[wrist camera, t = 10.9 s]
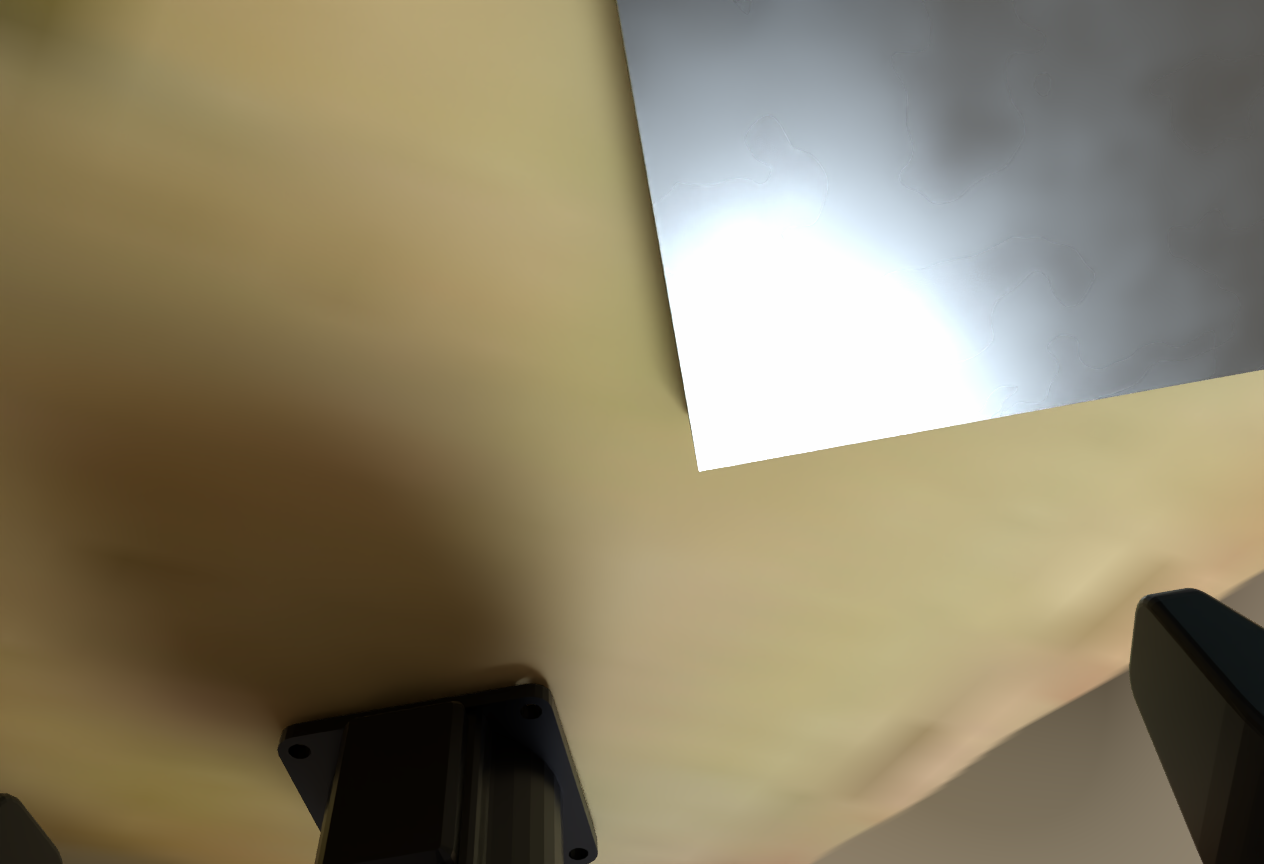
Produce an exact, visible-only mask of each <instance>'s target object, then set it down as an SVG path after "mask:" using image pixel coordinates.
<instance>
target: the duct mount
mask: <svg viewBox="0 0 1264 864" xmlns="http://www.w3.org/2000/svg"><path fill="white" fill-rule="evenodd" d="M616 6H617V12H618V18H619V23H620V29H621V35H622V40H623V46H624V52H625V57H626V63H627V69H628V75H629V80H630V86H631V92H632V97H633V103H634V109H635V114H636V120H637V126H638V132H639V137H640V143H641V149H642V154H643V160H644V166H645V171H646V177H647V183H648V189H649V194H650V200H651V206H652V211H653V217H654V223H655V229H656V234H657V240H658V246H659V251H660V257H661V263H662V268H663V274H664V280H665V286H666V291H667V297H668V303H669V308H670V314H671V320H672V325H673V331H674V337H675V343H676V348H677V354H678V360H679V365H680V371H681V377H682V382H683V388H684V394H685V400H686V405H687V411H688V417H689V422H690V428H691V433H692V438H693V443H694V448H695V453H696V458H697V463H698V468H699V471H704V470H709V469H715V468H721V467H726V466H732V465H737V464H743V463H748V462H754V461H759V460H765V459H770V458H776V457H781V456H787V455H792V454H798V453H804V452H809V451H815V450H820V449H826V448H831V447H837V446H842V445H848V444H853V443H859V442H864V441H870V440H876V439H881V438H887V437H892V436H898V435H903V434H909V433H914V432H920V431H925V430H931V429H936V428H942V427H947V426H953V425H959V424H964V423H970V422H975V421H981V420H986V419H992V418H997V417H1003V416H1008V415H1014V414H1019V413H1025V412H1031V411H1036V410H1042V409H1047V408H1053V407H1058V406H1064V405H1069V404H1075V403H1080V402H1086V401H1091V400H1097V399H1102V398H1108V397H1114V396H1119V395H1125V394H1130V393H1136V392H1141V391H1147V390H1152V389H1158V388H1163V387H1169V386H1174V385H1180V384H1186V383H1191V382H1197V381H1202V380H1208V379H1213V378H1219V377H1224V376H1230V375H1235V374H1241V373H1246V372H1252V371H1257V370H1263V369H1264V0H616Z"/></svg>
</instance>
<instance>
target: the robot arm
mask: <svg viewBox="0 0 1264 864" xmlns="http://www.w3.org/2000/svg"><path fill="white" fill-rule="evenodd" d="M1129 677H1130V684H1131V689H1132V692H1133V696H1134V699H1135V701H1136V704H1137V706H1138V708H1139V711H1140V713H1141V716H1142V718H1143V721H1144V723H1145V725H1146V728H1147V730H1148V733H1149V735H1150V738H1151V740H1152V742H1153V745H1154V747H1155V750H1156V752H1157V754H1158V757H1159V759H1160V762H1161V764H1162V767H1163V769H1164V771H1165V774H1166V776H1167V779H1168V781H1169V783H1170V786H1171V788H1172V791H1173V793H1174V796H1175V798H1176V800H1177V803H1178V805H1179V807H1180V810H1181V812H1182V815H1183V817H1184V819H1185V822H1186V824H1187V827H1188V829H1189V832H1190V834H1191V837H1192V839H1193V841H1194V844H1195V846H1196V849H1197V851H1198V853H1199V856H1200V858H1201V860H1202V862H1203V864H1264V628H1263V627H1262V626H1260V625H1258V624H1256V623H1255V622H1253V621H1252V620H1250V619H1248V618H1247V617H1245V616H1243V615H1242V614H1240V613H1238V612H1237V611H1235V610H1233V609H1232V608H1230V607H1228V606H1227V605H1225V604H1223V603H1222V602H1220V601H1218V600H1217V599H1215V598H1213V597H1212V596H1210V595H1208V594H1207V593H1205V592H1203V591H1200V590H1197V589H1193V588H1185V589H1179V590H1173V591H1167V592H1161V593H1155V594H1150V595H1147V596H1144V597H1143V598H1142V599H1141V600H1140V601H1139V603H1138V604H1137V608H1136V612H1135V620H1134V629H1133V638H1132V646H1131V655H1130V664H1129ZM527 704H535V706H527ZM299 744H302V745H299ZM277 750H278V754H279V757H280V758H281V760H282V762H283V764H284V766H285V768H286V769H287V771H288V773H289V775H290V777H291V779H292V781H293V782H294V784H295V786H296V788H297V790H298V792H299V793H300V795H301V797H302V799H303V801H304V803H305V804H306V806H307V808H308V810H309V812H310V814H311V815H312V817H313V819H314V821H315V823H316V825H317V826H318V828H319V830H320V832H321V834H320V839H319V844H318V849H317V854H316V859H315V864H589V863H591V862H592V861H594V860H595V859H596V857H597V855H598V850H597V836H596V833H595V830H594V827H593V823H592V820H591V817H590V814H589V811H588V807H587V804H586V801H585V798H584V795H583V792H582V788H581V785H580V782H579V779H578V776H577V772H576V769H575V766H574V763H573V760H572V757H571V753H570V750H569V747H568V744H567V741H566V737H565V734H564V731H563V728H562V725H561V722H560V718H559V715H558V712H557V709H556V706H555V702H554V699H553V696H552V694H551V692H550V691H549V689H547V688H546V687H544V686H542V685H538V684H523V685H517V686H511V687H506V688H500V689H494V690H488V691H483V692H477V693H471V694H465V695H460V696H454V697H448V698H442V699H436V700H431V701H425V702H419V703H413V704H408V705H402V706H396V707H390V708H385V709H379V710H373V711H367V712H362V713H356V714H350V715H344V716H339V717H333V718H327V719H321V720H315V721H310V722H304V723H298V724H294V725H291V726H288V727H287V728H285V729H284V730H283V732H282V734H281V737H280V741H279V745H278V749H277ZM0 864H63V863H62V859H61V856H60V853H59V851H58V849H57V848H56V846H55V845H54V844H53V842H52V841H51V840H50V838H49V837H48V836H47V835H46V833H45V832H44V831H43V829H42V828H41V827H40V826H39V824H38V823H37V822H36V820H35V819H34V818H33V817H32V815H31V814H30V813H29V811H28V810H27V809H26V808H25V806H24V805H23V804H22V802H21V801H20V800H19V799H18V798H16V797H14V796H12V795H10V794H8V793H0Z"/></svg>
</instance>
